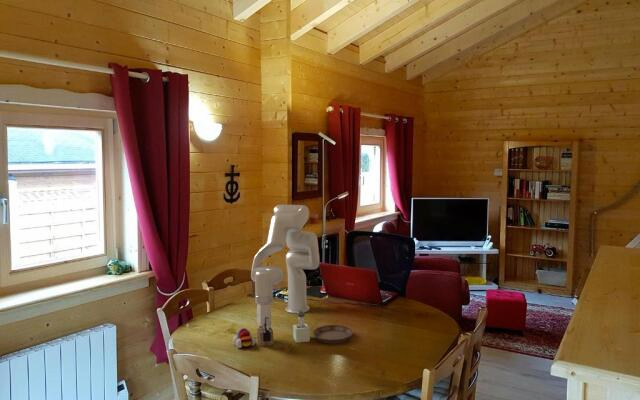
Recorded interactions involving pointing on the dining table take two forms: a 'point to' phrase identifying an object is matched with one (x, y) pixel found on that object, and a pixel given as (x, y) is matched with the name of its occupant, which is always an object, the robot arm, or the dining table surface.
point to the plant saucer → (333, 334)
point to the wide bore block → (301, 333)
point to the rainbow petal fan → (243, 338)
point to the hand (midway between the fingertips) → (265, 337)
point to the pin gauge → (301, 319)
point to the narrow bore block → (260, 337)
